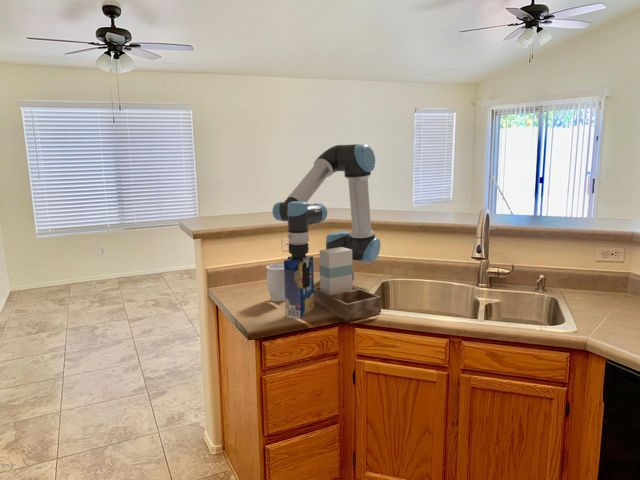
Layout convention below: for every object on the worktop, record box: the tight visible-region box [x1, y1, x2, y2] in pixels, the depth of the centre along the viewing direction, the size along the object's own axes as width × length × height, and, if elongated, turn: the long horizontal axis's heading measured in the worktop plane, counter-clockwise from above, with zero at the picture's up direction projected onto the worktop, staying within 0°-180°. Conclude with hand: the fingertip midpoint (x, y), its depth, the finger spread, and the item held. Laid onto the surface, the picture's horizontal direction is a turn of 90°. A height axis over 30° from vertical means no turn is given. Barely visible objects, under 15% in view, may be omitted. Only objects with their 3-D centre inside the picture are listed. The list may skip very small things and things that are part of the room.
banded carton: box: [319, 247, 354, 295], centre depth 187 cm, size 11×7×22 cm, turn 122°
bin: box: [314, 285, 382, 324], centre depth 183 cm, size 16×25×7 cm, turn 32°
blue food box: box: [283, 255, 315, 320], centre depth 178 cm, size 7×11×22 cm, turn 155°
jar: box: [266, 262, 285, 304], centre depth 195 cm, size 11×10×15 cm
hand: (299, 302), depth 179 cm, fingers closed on blue food box, 4 cm apart
